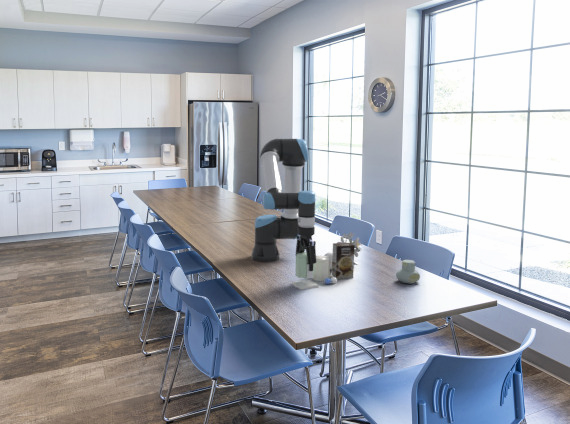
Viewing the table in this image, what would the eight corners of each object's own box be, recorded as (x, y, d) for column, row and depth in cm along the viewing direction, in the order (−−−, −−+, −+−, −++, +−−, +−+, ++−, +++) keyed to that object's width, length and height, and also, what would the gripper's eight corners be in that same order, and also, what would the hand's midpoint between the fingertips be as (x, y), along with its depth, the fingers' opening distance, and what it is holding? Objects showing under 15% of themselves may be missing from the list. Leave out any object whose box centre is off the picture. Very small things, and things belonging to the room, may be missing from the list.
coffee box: (336, 279, 247) (337, 246, 244) (331, 275, 253) (332, 243, 250) (353, 277, 249) (355, 245, 246) (348, 274, 255) (349, 242, 252)
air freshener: (405, 286, 238) (406, 264, 236) (392, 281, 245) (393, 260, 243) (422, 282, 244) (423, 261, 242) (409, 277, 251) (411, 257, 249)
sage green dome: (308, 272, 241) (309, 251, 240) (317, 277, 234) (318, 255, 232) (293, 274, 238) (293, 252, 236) (301, 279, 230) (301, 257, 229)
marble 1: (323, 283, 240) (323, 277, 239) (328, 282, 241) (328, 276, 240) (326, 285, 237) (326, 279, 237) (332, 284, 238) (332, 278, 238)
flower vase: (336, 285, 260) (364, 263, 276) (337, 254, 251) (366, 233, 267) (316, 275, 267) (344, 254, 284) (316, 244, 258) (345, 225, 275)
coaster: (291, 283, 239) (291, 281, 239) (309, 281, 243) (309, 279, 243) (300, 289, 231) (300, 287, 231) (318, 287, 235) (318, 285, 235)
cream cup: (308, 276, 250) (309, 256, 248) (323, 274, 254) (324, 254, 252) (317, 281, 243) (317, 260, 241) (332, 279, 246) (332, 259, 244)
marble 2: (329, 282, 241) (329, 276, 241) (334, 282, 242) (334, 275, 242) (332, 284, 238) (332, 278, 238) (338, 283, 240) (338, 277, 239)
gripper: (288, 222, 240) (287, 269, 244) (309, 231, 221) (308, 282, 225) (302, 221, 243) (301, 268, 247) (325, 229, 224) (324, 280, 228)
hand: (305, 274), depth 236 cm, fingers closed on sage green dome, 8 cm apart
